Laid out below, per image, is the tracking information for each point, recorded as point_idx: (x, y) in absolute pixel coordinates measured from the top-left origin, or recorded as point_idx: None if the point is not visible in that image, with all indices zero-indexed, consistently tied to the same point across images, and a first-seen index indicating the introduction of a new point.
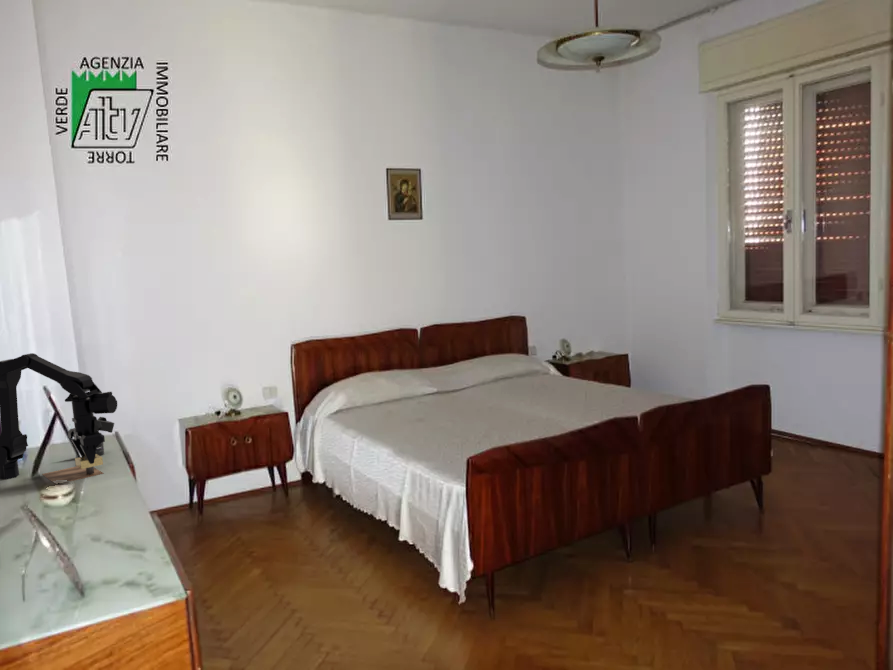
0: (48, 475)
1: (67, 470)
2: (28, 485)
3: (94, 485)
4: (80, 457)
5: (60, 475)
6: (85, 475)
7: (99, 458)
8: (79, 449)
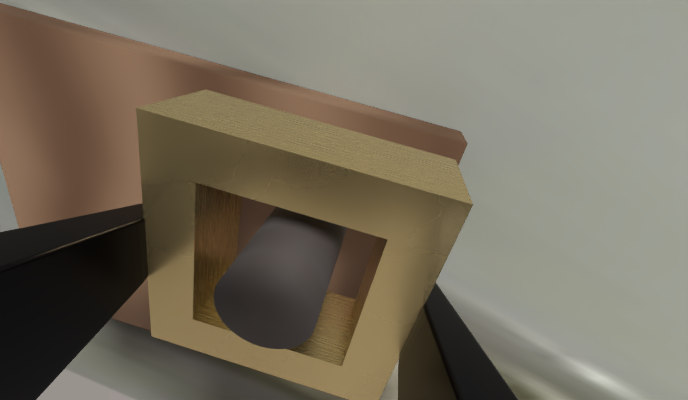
0: None
1: (69, 201)
2: (147, 356)
3: (558, 279)
4: (162, 300)
5: None
6: (348, 239)
7: (454, 235)
8: (40, 380)
